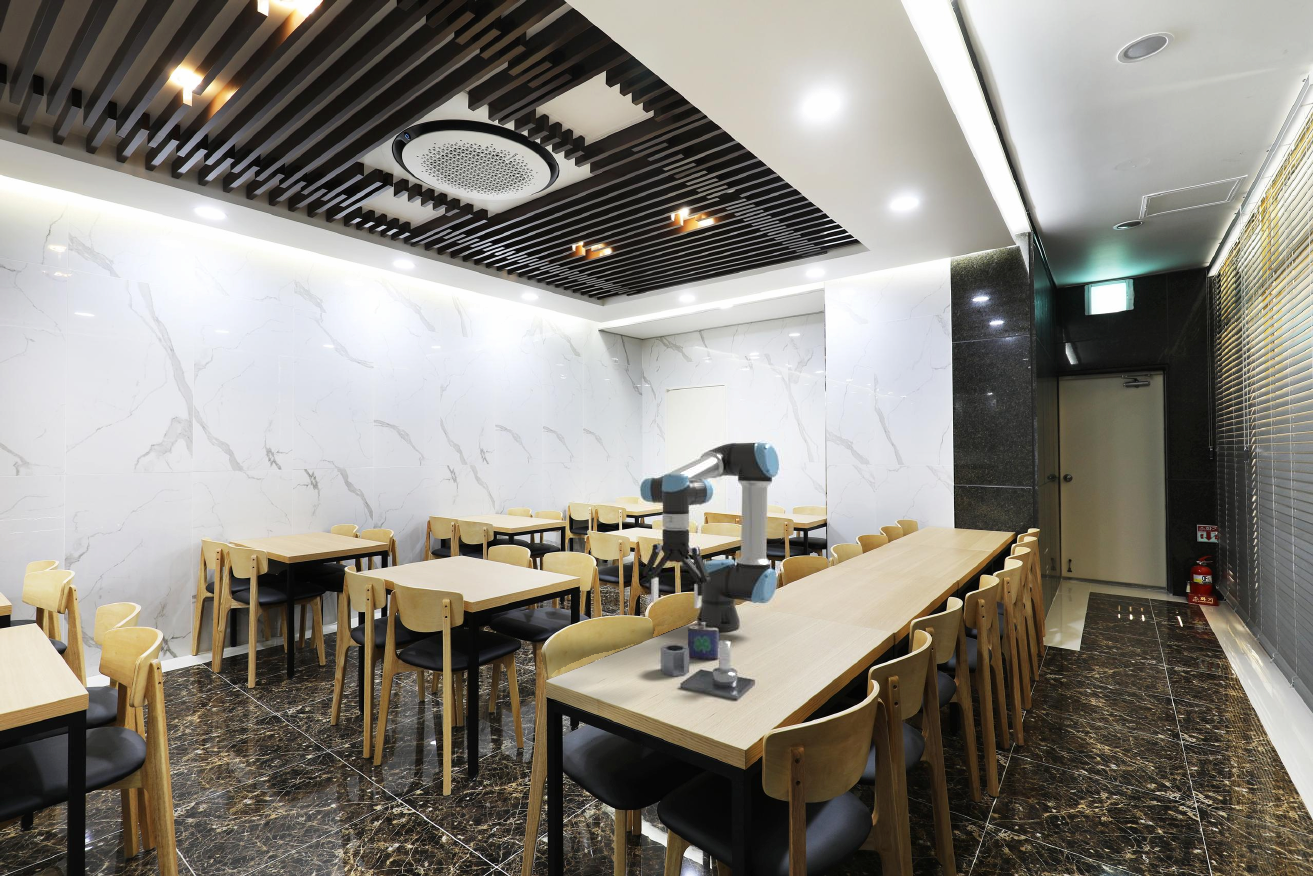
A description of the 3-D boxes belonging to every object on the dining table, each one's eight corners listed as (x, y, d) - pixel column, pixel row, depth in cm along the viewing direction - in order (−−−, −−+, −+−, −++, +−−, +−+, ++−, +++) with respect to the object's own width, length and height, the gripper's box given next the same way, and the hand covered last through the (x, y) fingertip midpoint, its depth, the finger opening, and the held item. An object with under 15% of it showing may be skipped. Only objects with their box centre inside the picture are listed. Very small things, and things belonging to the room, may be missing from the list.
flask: (719, 657, 184) (718, 621, 184) (717, 661, 181) (717, 624, 181) (688, 655, 186) (688, 620, 186) (687, 659, 183) (686, 622, 183)
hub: (669, 665, 178) (669, 642, 178) (692, 669, 174) (692, 646, 174) (656, 673, 171) (656, 649, 171) (680, 678, 168) (680, 654, 168)
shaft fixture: (700, 673, 171) (700, 630, 171) (755, 684, 163) (754, 638, 163) (680, 688, 160) (680, 641, 161) (737, 700, 152) (737, 651, 153)
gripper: (631, 527, 176) (631, 601, 176) (710, 532, 164) (710, 612, 163) (644, 524, 183) (644, 596, 182) (721, 529, 170) (722, 606, 170)
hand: (675, 604), depth 173 cm, fingers open, 13 cm apart
